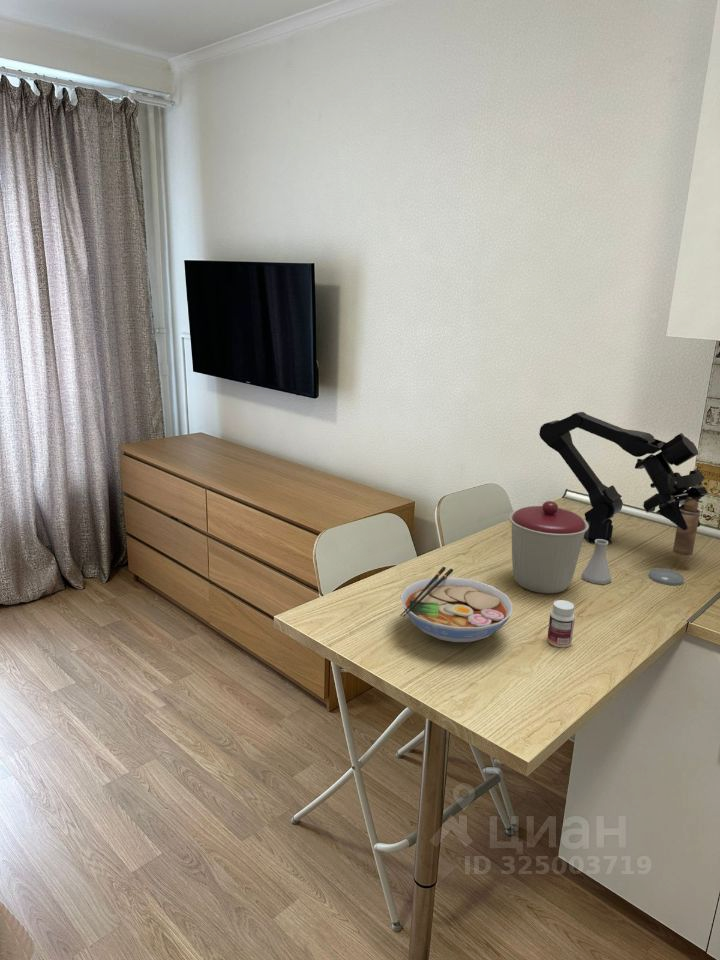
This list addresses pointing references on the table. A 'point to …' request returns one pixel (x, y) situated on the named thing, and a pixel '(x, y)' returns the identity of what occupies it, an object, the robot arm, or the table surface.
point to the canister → (545, 546)
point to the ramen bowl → (456, 607)
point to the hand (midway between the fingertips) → (692, 528)
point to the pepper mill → (687, 537)
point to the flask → (598, 565)
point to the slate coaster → (666, 576)
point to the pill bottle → (561, 624)
